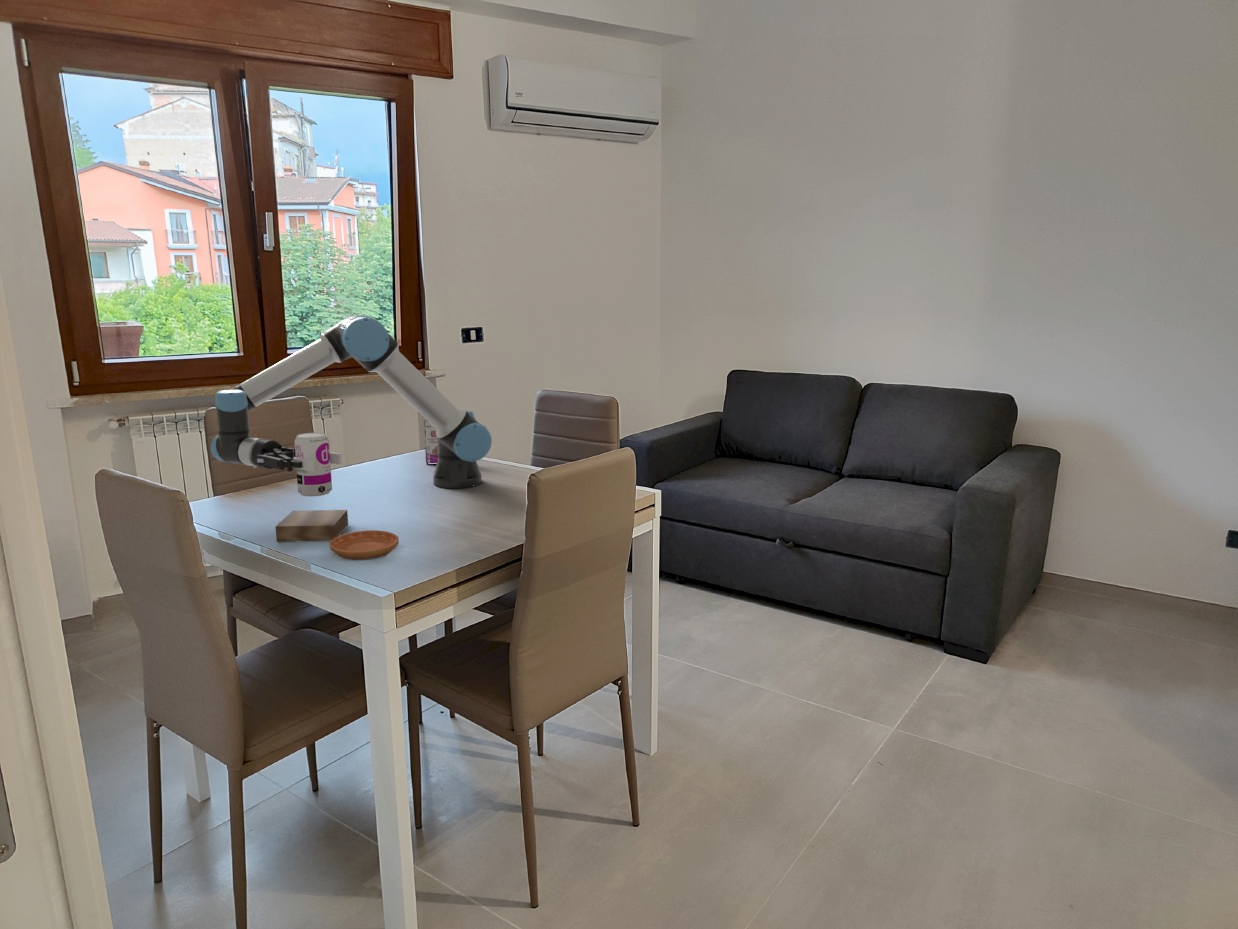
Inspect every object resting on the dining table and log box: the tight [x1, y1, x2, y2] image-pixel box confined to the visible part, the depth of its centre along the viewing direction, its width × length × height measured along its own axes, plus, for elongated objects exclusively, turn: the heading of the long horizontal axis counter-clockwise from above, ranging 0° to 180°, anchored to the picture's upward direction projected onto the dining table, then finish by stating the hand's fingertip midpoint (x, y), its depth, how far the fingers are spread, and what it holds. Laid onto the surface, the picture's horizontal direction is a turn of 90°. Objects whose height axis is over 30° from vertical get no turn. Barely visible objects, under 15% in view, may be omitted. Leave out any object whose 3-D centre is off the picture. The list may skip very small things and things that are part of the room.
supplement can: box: [294, 432, 333, 497], centre depth 207 cm, size 8×8×15 cm
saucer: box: [328, 529, 400, 561], centre depth 196 cm, size 16×16×3 cm
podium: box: [274, 509, 349, 543], centre depth 209 cm, size 14×14×4 cm
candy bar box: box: [423, 418, 438, 464], centre depth 287 cm, size 11×5×16 cm, turn 84°
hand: (327, 462), depth 205 cm, fingers closed on supplement can, 8 cm apart
